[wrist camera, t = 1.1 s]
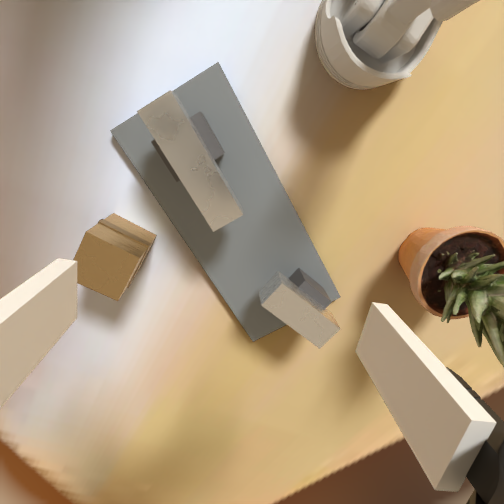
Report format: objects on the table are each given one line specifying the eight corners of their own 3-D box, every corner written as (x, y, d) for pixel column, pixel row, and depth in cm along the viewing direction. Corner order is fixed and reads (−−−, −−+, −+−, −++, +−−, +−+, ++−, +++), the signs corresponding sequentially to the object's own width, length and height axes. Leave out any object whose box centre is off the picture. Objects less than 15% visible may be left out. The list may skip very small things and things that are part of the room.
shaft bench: (113, 130, 32) (95, 130, 28) (218, 64, 30) (216, 53, 26) (252, 337, 41) (254, 360, 37) (338, 293, 39) (350, 312, 35)
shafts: (146, 113, 27) (136, 111, 24) (203, 77, 27) (200, 71, 24) (290, 343, 36) (295, 360, 33) (335, 320, 35) (344, 336, 33)
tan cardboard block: (94, 251, 36) (64, 277, 29) (113, 211, 34) (85, 230, 28) (138, 272, 37) (118, 302, 30) (157, 234, 36) (141, 257, 29)
